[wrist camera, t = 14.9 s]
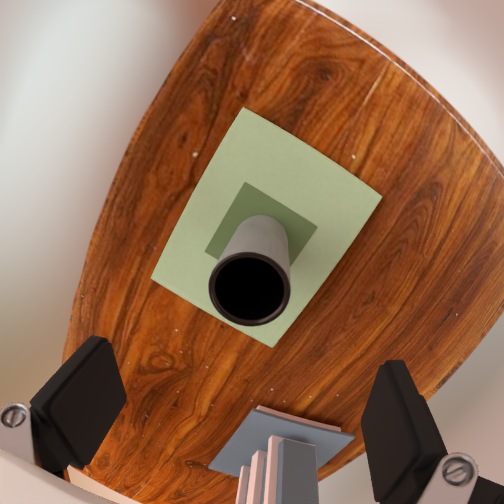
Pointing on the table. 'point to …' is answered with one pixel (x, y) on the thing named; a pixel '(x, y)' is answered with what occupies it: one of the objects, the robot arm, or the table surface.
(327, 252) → the mat
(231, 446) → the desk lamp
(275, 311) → the gray hollow cylinder
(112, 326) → the table surface
